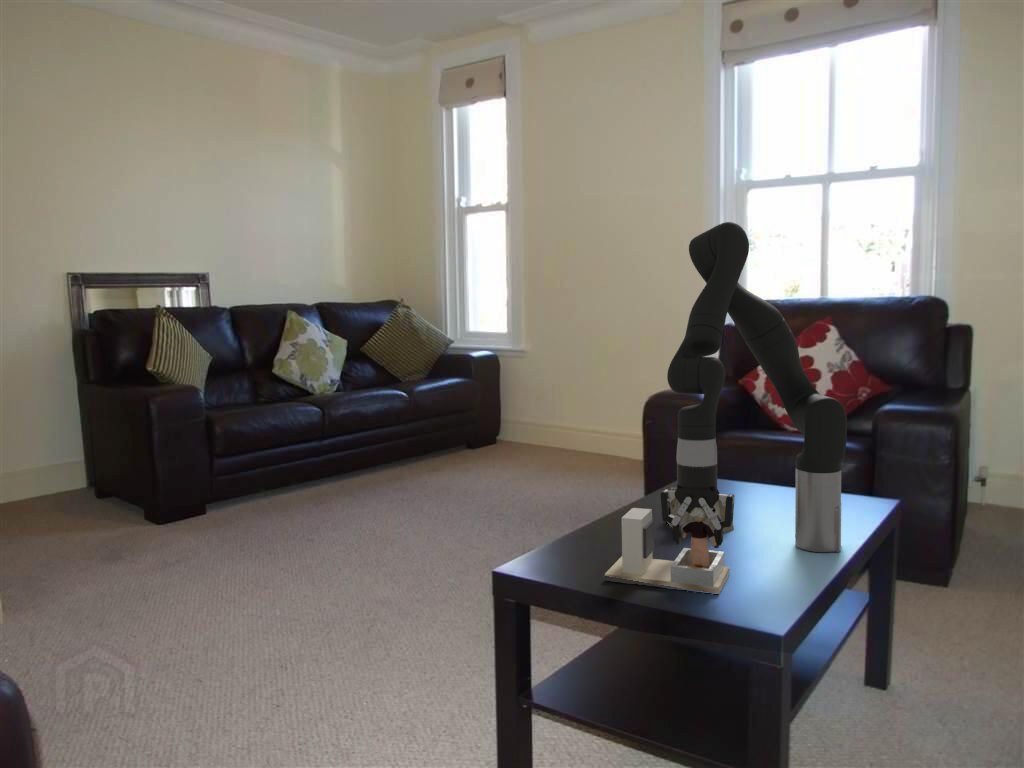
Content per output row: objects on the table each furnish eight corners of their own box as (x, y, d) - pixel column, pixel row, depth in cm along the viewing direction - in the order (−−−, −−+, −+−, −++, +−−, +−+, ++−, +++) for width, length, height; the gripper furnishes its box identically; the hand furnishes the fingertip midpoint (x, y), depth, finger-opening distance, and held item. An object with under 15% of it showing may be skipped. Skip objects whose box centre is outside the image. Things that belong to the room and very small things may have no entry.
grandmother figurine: (721, 568, 153) (721, 504, 151) (714, 574, 149) (714, 508, 148) (683, 561, 157) (683, 499, 155) (676, 567, 154) (676, 503, 152)
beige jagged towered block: (733, 534, 183) (731, 469, 182) (662, 533, 188) (659, 470, 187) (735, 520, 198) (732, 460, 197) (669, 519, 203) (666, 461, 202)
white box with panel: (655, 562, 161) (654, 509, 160) (645, 575, 154) (644, 519, 152) (633, 560, 163) (632, 507, 162) (622, 572, 155) (621, 517, 154)
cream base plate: (729, 574, 157) (729, 566, 157) (719, 595, 146) (719, 587, 146) (622, 562, 166) (622, 555, 166) (604, 581, 155) (604, 574, 155)
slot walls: (724, 566, 157) (724, 551, 157) (713, 586, 146) (713, 571, 146) (684, 562, 160) (683, 547, 160) (670, 581, 150) (670, 566, 149)
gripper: (738, 459, 152) (738, 543, 153) (664, 455, 157) (665, 536, 159) (732, 467, 145) (732, 555, 146) (655, 462, 151) (656, 547, 152)
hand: (697, 545), depth 153 cm, fingers closed on grandmother figurine, 6 cm apart
